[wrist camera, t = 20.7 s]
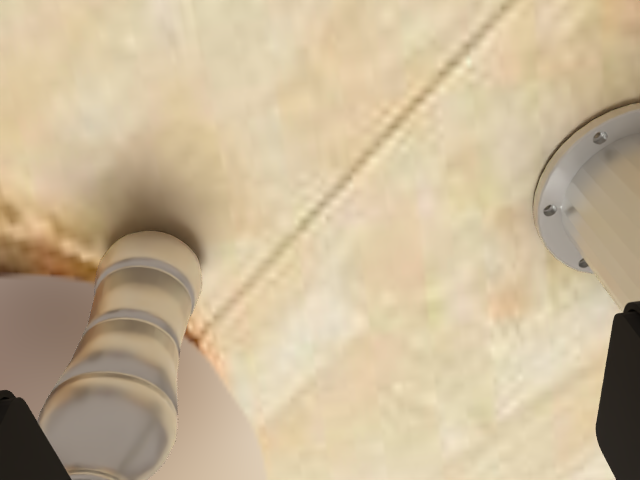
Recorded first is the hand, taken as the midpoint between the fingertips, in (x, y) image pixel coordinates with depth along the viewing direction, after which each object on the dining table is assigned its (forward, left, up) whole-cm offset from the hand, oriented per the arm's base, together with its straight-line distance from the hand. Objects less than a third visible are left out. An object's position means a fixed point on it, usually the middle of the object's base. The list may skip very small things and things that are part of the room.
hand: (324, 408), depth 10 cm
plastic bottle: (+12, +15, -28) cm, 34 cm away
